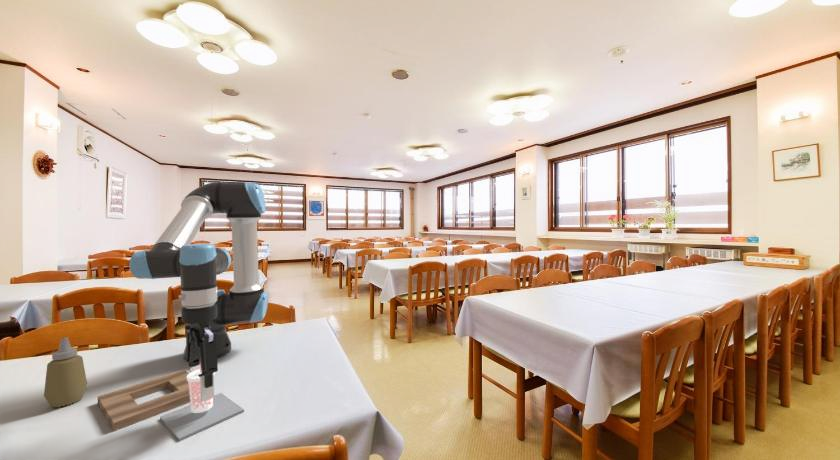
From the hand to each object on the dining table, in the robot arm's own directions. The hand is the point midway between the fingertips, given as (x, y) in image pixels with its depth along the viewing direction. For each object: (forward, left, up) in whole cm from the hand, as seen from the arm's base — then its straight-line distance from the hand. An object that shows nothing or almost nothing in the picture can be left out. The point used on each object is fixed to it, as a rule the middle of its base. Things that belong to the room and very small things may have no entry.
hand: (202, 394), depth 82 cm
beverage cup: (0, 0, -4) cm, 4 cm away
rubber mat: (0, 0, -5) cm, 5 cm away
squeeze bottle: (-38, -20, -6) cm, 43 cm away
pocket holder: (-20, -5, -5) cm, 21 cm away
